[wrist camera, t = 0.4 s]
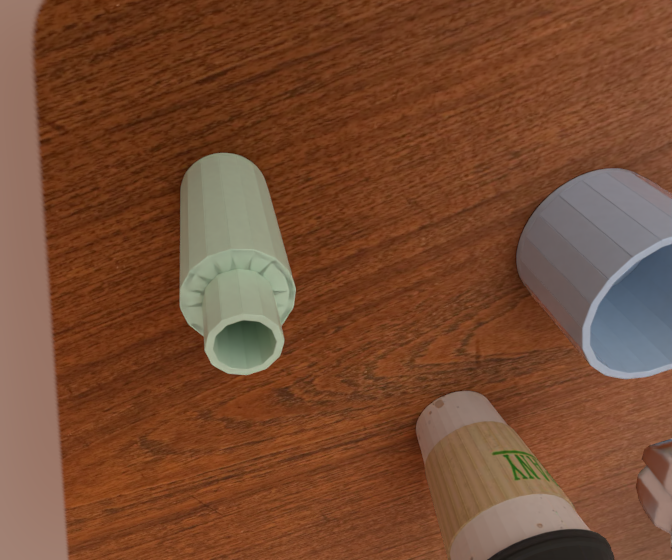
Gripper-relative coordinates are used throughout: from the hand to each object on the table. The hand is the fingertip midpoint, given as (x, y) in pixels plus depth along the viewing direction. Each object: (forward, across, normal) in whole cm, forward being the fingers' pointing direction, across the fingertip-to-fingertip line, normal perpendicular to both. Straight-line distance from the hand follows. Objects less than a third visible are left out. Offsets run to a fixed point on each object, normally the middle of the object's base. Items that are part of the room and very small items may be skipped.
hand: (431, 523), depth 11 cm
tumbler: (+24, -19, +13) cm, 33 cm away
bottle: (+24, +3, +4) cm, 25 cm away
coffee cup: (+24, -9, +27) cm, 37 cm away
